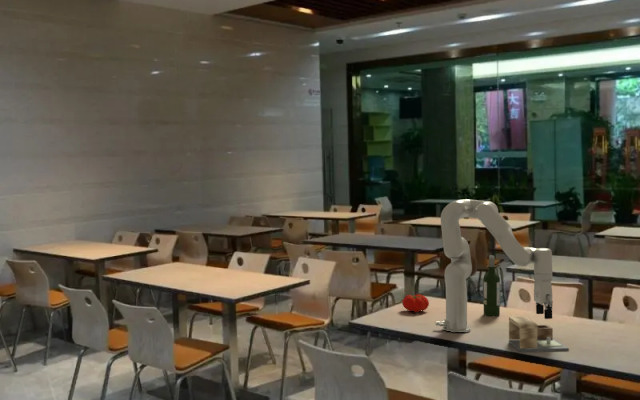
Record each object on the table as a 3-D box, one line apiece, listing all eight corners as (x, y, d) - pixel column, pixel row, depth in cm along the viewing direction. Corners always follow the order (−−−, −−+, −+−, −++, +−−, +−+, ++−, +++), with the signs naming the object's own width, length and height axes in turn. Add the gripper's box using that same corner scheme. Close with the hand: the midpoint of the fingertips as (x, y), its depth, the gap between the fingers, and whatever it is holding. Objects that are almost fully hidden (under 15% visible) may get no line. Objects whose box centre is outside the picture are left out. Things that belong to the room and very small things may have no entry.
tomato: (401, 314, 341) (401, 297, 341) (402, 309, 354) (402, 292, 353) (428, 315, 339) (428, 297, 339) (429, 309, 351) (429, 293, 351)
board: (520, 351, 271) (520, 342, 271) (508, 342, 286) (508, 333, 285) (568, 350, 272) (568, 341, 272) (554, 341, 286) (554, 332, 286)
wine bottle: (482, 312, 342) (482, 254, 340) (498, 313, 341) (498, 254, 339) (484, 316, 334) (484, 256, 333) (500, 316, 333) (500, 257, 331)
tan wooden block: (520, 348, 271) (520, 324, 271) (508, 339, 285) (508, 316, 285) (537, 348, 271) (537, 324, 271) (525, 339, 286) (525, 316, 285)
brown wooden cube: (537, 341, 287) (537, 328, 286) (532, 337, 293) (532, 325, 293) (552, 341, 287) (552, 328, 287) (546, 337, 293) (547, 324, 293)
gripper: (527, 274, 297) (528, 312, 298) (542, 280, 280) (543, 321, 280) (544, 273, 297) (545, 311, 298) (559, 279, 280) (560, 320, 281)
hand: (544, 316), depth 289 cm, fingers open, 9 cm apart
